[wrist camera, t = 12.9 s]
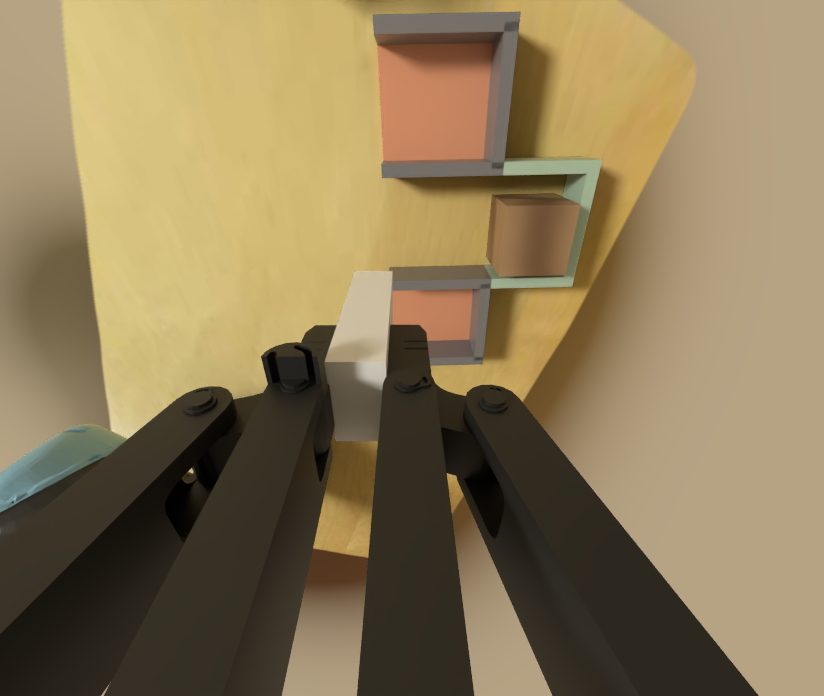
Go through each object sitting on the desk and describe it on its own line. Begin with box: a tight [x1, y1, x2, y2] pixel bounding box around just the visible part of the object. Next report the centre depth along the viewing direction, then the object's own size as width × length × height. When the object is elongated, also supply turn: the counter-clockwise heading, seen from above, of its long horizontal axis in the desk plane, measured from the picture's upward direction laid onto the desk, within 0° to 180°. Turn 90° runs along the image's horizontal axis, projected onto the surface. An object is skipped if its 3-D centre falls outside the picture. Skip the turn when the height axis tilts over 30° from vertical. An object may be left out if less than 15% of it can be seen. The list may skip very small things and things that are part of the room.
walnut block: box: [486, 193, 581, 277], centre depth 33 cm, size 6×6×6 cm
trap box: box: [373, 12, 602, 365], centre depth 33 cm, size 18×29×4 cm, turn 1°
